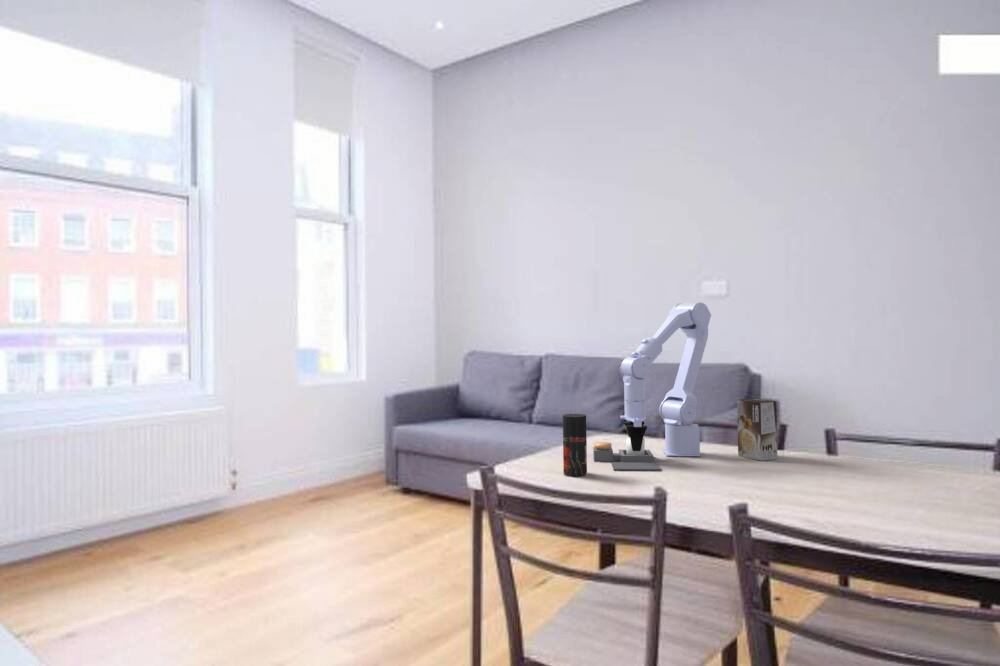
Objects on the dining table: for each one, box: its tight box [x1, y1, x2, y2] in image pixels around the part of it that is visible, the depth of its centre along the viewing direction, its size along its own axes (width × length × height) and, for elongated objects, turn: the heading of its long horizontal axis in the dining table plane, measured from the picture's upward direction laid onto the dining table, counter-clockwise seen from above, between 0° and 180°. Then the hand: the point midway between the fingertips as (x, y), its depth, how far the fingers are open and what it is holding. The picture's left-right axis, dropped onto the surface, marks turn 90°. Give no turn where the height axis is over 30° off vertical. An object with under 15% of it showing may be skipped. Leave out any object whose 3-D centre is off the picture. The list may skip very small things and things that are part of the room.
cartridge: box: [625, 436, 646, 455], centre depth 184 cm, size 5×5×7 cm
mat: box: [611, 461, 662, 472], centre depth 174 cm, size 12×8×1 cm, turn 84°
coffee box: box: [736, 397, 779, 462], centre depth 185 cm, size 9×6×16 cm
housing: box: [592, 446, 654, 463], centre depth 185 cm, size 16×9×3 cm, turn 84°
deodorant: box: [562, 413, 588, 478], centre depth 168 cm, size 6×6×15 cm
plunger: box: [593, 441, 613, 450], centre depth 185 cm, size 5×5×4 cm
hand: (635, 448), depth 184 cm, fingers closed on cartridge, 5 cm apart
